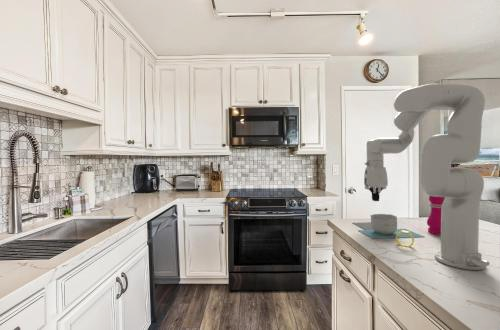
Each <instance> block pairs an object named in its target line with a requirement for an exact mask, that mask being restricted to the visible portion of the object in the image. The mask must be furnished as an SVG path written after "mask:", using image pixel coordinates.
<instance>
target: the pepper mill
mask: <svg viewBox="0 0 500 330" xmlns="http://www.w3.org/2000/svg"><path fill="white" fill-rule="evenodd" d="M444 199H445V197H433V196H430V195H429V196H428V201H429V202H430V203H429V207H431V208H430V209H431V210H430V213H429V216H428V217H427V219H426V224H427V226H428V228H427V232H428V233H429V234H432V235H436V236H437V235H438V236H441V209H442V204H443V201H444Z"/></svg>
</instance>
